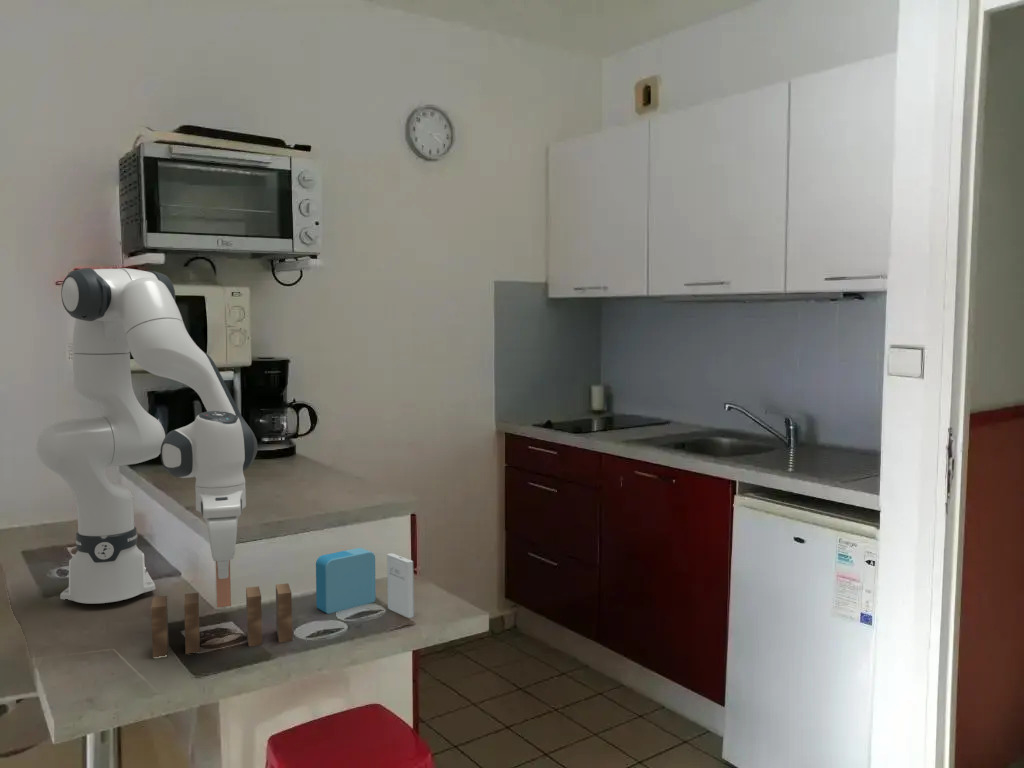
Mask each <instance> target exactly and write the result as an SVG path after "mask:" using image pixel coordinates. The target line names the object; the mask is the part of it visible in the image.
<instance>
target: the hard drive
mask: <svg viewBox="0 0 1024 768" xmlns="http://www.w3.org/2000/svg"><path fill="white" fill-rule="evenodd" d="M386 557H387V558H386V562H387V564H386V565H387V567H386V569H387V572H386V573H387V610H389V611H392V612H394V613H396V614H398V615H401V616H403V617H406V618H408V619H412V618H414V617H415V591H414V590H415V589H414V588H415V586H414V585H415V584H414V583H415V580H414V561H413V560H412V559H409V558H407V557H404V556H401V555H398V554H396V553H392V552H389V553H387V554H386Z"/></svg>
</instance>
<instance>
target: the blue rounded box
mask: <svg viewBox="0 0 1024 768" xmlns="http://www.w3.org/2000/svg"><path fill="white" fill-rule="evenodd" d="M315 585H316V586H315V591H316V593H315V595H316V601H315V602H316V608H317V609H318V610H320V611H321V612H323V613H325V614H327V615H329V614H335V613H337V612H341V611H345V610H349V609H353V608H357V607H360V606H361V607H362V606H364V605H368V604H373V603H375V602H376V596H377V595H376V590H377V589H376V555H375V554H374V552H372V551H370V550H367V549H365V548H362V547H357V548H352V549H347V550H346V549H345V550H342V551H337V552H333V553H326V554H322V555H320V556H319V557H317V559H316V562H315Z"/></svg>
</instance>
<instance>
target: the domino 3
mask: <svg viewBox="0 0 1024 768" xmlns="http://www.w3.org/2000/svg"><path fill="white" fill-rule="evenodd" d="M215 583H216V584H215V585H216V604H217V605H216V607H217V608H223V607H231V606H232V593H231V592H232V591H231V589H232V588H231V585H232V584H231V560H229V576H228V578H225V579H219V577H218V566H217V561H215Z"/></svg>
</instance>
